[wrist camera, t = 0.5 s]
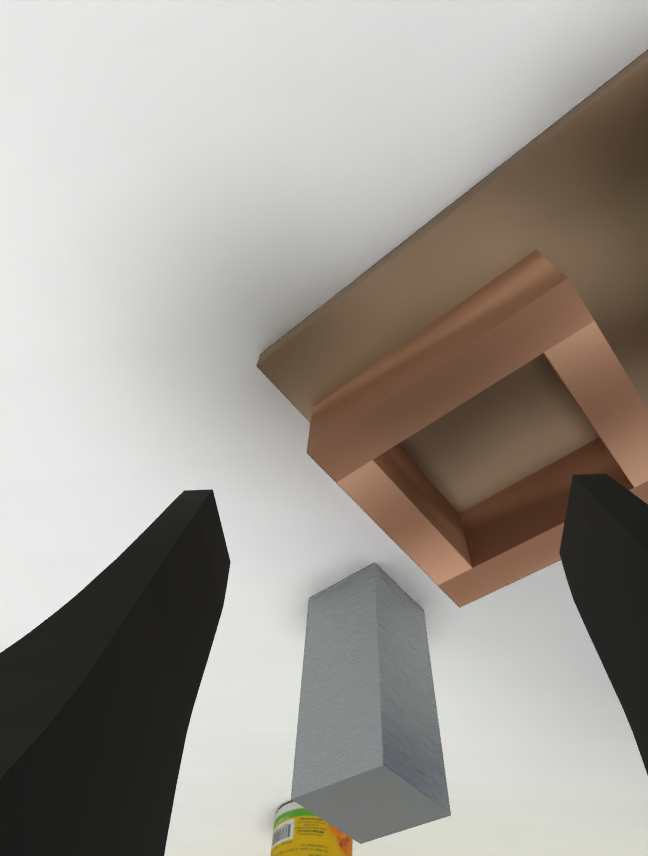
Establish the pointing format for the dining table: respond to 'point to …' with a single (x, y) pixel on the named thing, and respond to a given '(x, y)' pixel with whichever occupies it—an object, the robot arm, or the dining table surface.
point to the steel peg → (368, 712)
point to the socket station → (494, 354)
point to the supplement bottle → (306, 834)
